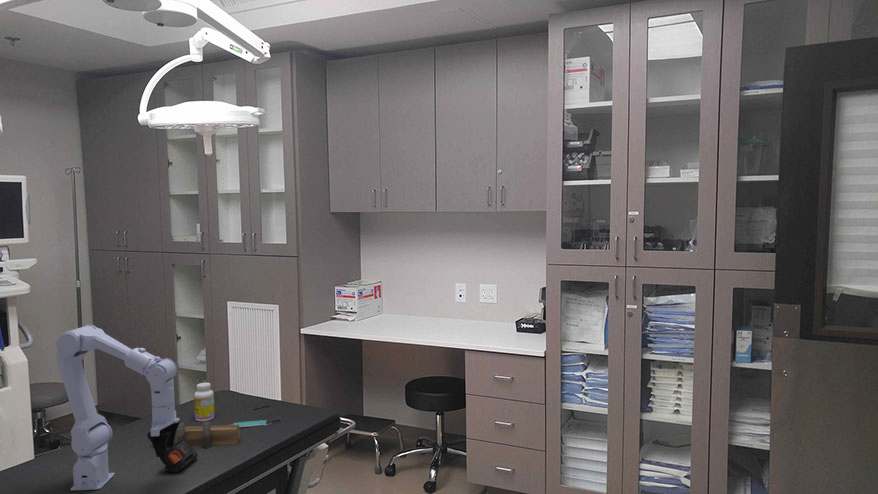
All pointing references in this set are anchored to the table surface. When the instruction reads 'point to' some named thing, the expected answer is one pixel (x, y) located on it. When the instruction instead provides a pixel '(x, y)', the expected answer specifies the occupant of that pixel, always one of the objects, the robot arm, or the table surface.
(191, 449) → the battery
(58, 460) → the table surface
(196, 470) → the table surface
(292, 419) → the table surface
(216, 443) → the bar
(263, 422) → the surgical mask
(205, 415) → the supplement bottle
